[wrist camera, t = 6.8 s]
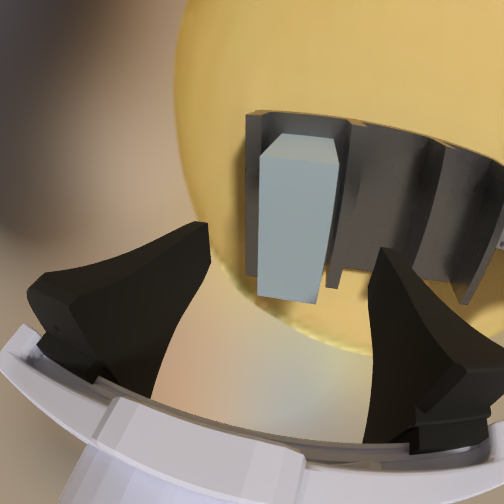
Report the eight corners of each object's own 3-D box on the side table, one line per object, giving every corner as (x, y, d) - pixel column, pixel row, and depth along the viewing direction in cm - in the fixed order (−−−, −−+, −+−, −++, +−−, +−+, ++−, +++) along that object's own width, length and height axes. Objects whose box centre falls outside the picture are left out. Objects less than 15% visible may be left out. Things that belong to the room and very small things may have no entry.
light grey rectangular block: (333, 138, 14) (339, 164, 9) (320, 242, 18) (315, 304, 13) (281, 133, 15) (259, 156, 10) (277, 236, 19) (257, 295, 14)
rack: (494, 158, 12) (520, 175, 9) (454, 275, 18) (468, 304, 15) (258, 110, 15) (243, 114, 12) (256, 246, 21) (244, 274, 18)
